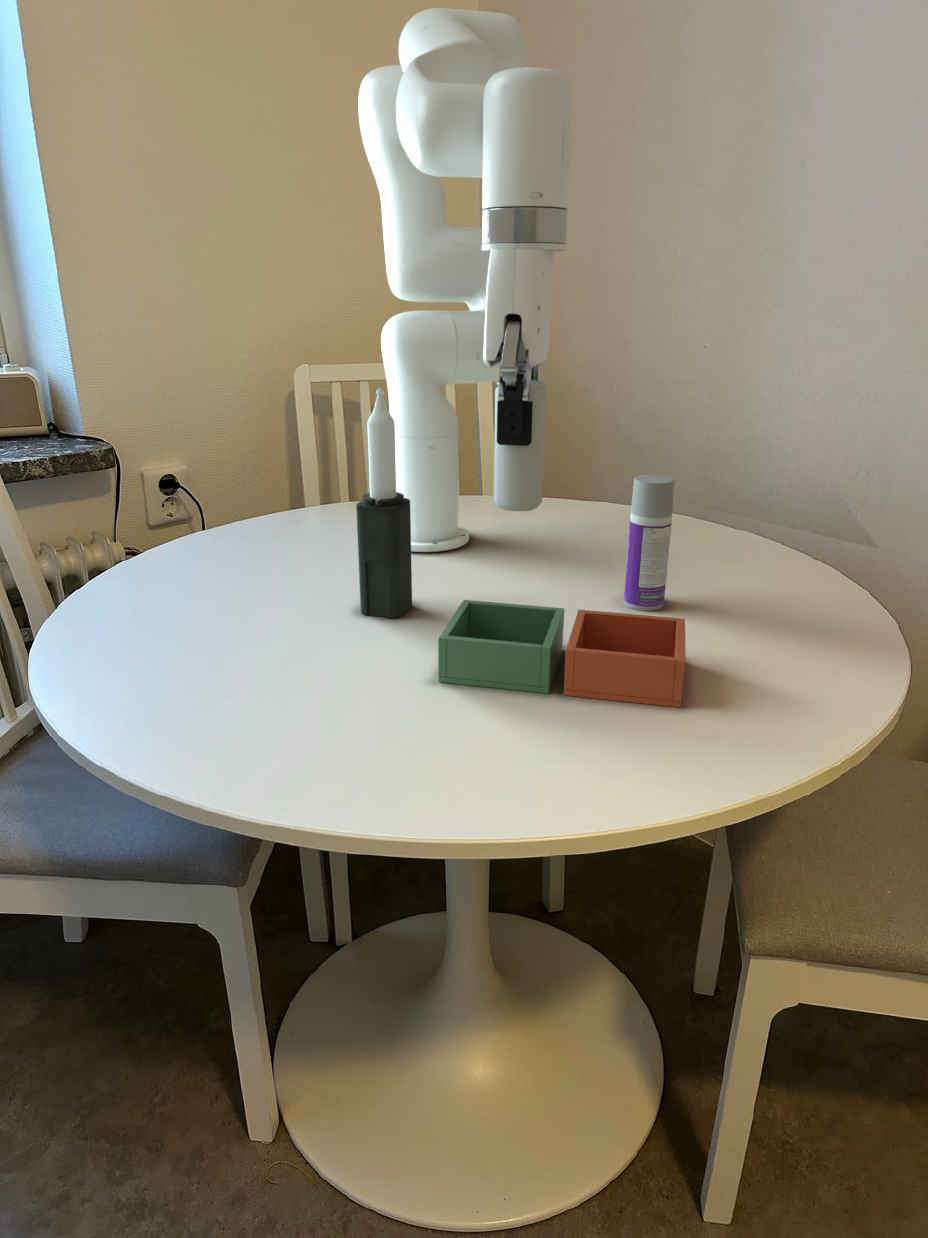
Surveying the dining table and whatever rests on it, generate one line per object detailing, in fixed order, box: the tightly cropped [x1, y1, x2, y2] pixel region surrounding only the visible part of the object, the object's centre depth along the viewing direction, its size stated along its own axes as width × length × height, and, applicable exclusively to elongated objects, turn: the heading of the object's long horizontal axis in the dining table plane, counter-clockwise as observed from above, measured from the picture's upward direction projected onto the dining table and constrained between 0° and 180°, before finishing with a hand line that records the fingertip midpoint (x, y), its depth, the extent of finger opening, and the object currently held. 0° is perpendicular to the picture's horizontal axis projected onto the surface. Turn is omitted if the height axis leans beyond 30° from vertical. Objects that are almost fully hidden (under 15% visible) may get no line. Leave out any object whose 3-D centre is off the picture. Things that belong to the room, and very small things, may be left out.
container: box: [623, 474, 675, 612], centre depth 101 cm, size 5×5×15 cm
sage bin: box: [437, 599, 565, 694], centre depth 86 cm, size 11×11×5 cm
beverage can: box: [493, 379, 547, 512], centre depth 84 cm, size 5×5×12 cm
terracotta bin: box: [563, 609, 686, 708], centre depth 84 cm, size 11×11×5 cm
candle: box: [355, 387, 413, 619], centre depth 97 cm, size 5×5×25 cm
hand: (518, 437), depth 84 cm, fingers closed on beverage can, 4 cm apart
